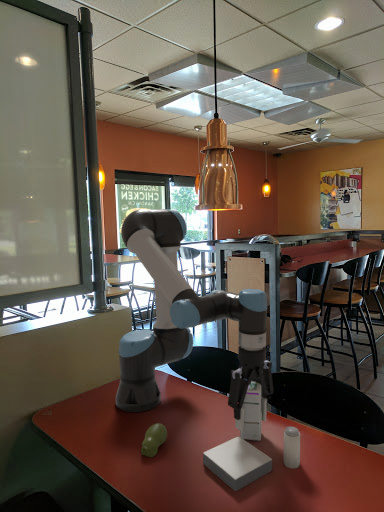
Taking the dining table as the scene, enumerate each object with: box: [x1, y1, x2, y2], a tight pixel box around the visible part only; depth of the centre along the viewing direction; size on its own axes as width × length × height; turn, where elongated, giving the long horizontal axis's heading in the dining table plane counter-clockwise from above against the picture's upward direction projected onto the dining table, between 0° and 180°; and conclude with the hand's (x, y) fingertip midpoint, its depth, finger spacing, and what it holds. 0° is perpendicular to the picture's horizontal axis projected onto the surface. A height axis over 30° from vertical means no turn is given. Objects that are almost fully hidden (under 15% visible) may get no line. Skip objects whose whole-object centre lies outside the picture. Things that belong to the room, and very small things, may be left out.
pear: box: [140, 422, 168, 458], centre depth 102 cm, size 6×5×10 cm
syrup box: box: [239, 380, 263, 441], centre depth 106 cm, size 6×6×14 cm
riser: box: [202, 435, 273, 492], centre depth 94 cm, size 12×12×3 cm
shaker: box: [282, 426, 301, 469], centre depth 95 cm, size 4×4×9 cm
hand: (250, 423), depth 106 cm, fingers closed on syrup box, 8 cm apart
